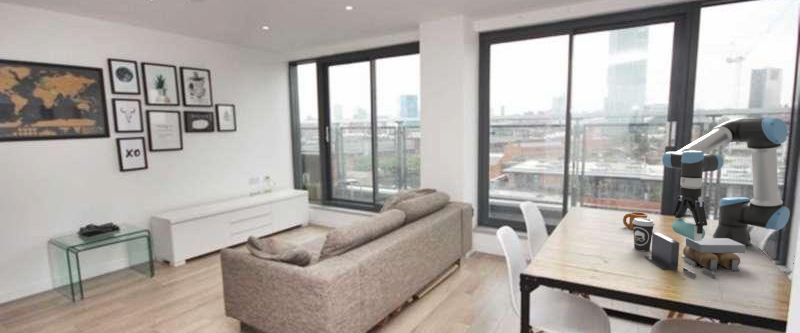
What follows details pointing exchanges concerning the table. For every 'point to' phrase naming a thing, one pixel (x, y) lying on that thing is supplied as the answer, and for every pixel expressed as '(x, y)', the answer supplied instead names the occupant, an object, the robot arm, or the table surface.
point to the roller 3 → (726, 258)
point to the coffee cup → (642, 233)
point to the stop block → (664, 252)
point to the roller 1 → (685, 228)
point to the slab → (716, 245)
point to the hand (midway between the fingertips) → (687, 236)
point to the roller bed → (710, 267)
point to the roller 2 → (699, 256)
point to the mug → (632, 216)
